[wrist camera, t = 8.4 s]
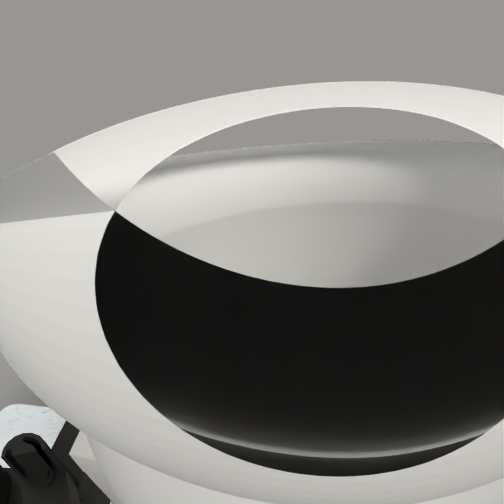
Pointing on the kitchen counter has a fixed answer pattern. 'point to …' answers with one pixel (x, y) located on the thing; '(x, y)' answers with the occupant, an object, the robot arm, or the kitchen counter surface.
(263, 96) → the jar
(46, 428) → the kitchen counter surface
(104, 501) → the robot arm
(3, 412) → the kitchen counter surface
